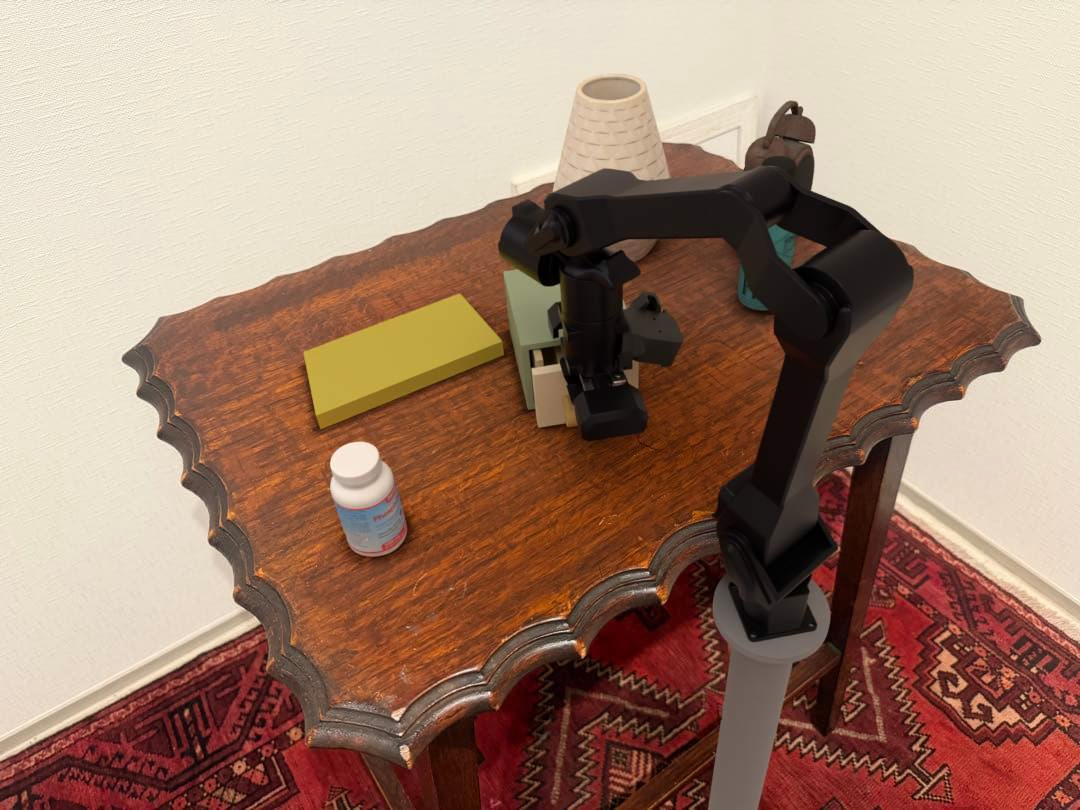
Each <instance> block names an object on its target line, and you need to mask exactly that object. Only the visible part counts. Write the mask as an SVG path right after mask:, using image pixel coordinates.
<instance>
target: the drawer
mask: <svg viewBox="0 0 1080 810" xmlns="http://www.w3.org/2000/svg"><path fill="white" fill-rule="evenodd" d="M529 357H530V367H531V373H532V380H533V390H534V399H535V409H534V410H535V418H536V424H537V427H538V428H545V427H551V426H557V425H563V424H566V428H574V427H578V424H577V421H576V415H575V410H574V405H572V403H571V400H570V397H569V394H568V390H567V387H566V385H568V384H567V382H566V380H565V378H564V376H563V373H562V370H561V366H560V364H555V365H553V353H552V346H551V347H545V348H538V349H532V350H529ZM624 374H625V375H626V378H627V381H628V383H629V384H631V385H632V386H634V387H636V388H637V389H639V362H637V361H634V360H633V369H630V370H624Z"/></svg>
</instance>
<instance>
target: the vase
mask: <svg viewBox="0 0 1080 810" xmlns="http://www.w3.org/2000/svg"><path fill="white" fill-rule="evenodd" d="M654 113H655V112H654V110H653V105H652V101H651V98H650V94H649V90H648V86H647V84H646V82H645V81H644V80H642V79H641V78H640V77H637V76H635V75H632V74H626V73H604V74H598V75H594V76H590V77H587V78H586V79H584V80H582V81H580V82H579V83H578V85H577V86H576V90H575V93H574V97H573V102H572V106H571V110H570V114H569V118H568V123H567V128H566V132H565V136H564V140H563V145H562V149H561V152H560V153H561V154H560V159H559V161H558V162H559V163H558V166H557V169H556V170H557V171H556V174H555V179H554V184H553V187H552V192H554V191H556V190H559V189H561V188H563V187H565V186H567V185H569V184H571V183H573V182H575V181H577V180H579V179H582V178H584V177H586V176H588V175H590V174H592V173H594V172H596V171H598V170H601V169H603V168H609V169H616V170H623V171H629V172H631V173H633V174H634V175H635V176H636V177H637V178H638V179H640V180H646V181H649V180H659V179H669V178H672V176H671V172H670V168H669V165H668V162H667V161H668V160H667V158H666V154H665V150H664V145H663V143H662V138H661V134H660V131H659V127H658V124H657V120H656V116H655V114H654ZM658 240H659V239H629V240H625V241H621V242H618V243H616V244H613V245H611V246H610V247H611V248H613V249H615V250H617V251H619V250H623V251H624V252H625V254H626V256H627V257H628V258H629V259H631V260H632V261H634V262H635V263H636V262H638V261H640V260H642V259H643V258H645V257H646V256H647V255H648V254H649V253H650V252H651V250H652V249H653V247H654V246H655V244H656V242H657V241H658Z"/></svg>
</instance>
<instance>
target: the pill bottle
mask: <svg viewBox="0 0 1080 810" xmlns="http://www.w3.org/2000/svg"><path fill="white" fill-rule="evenodd" d="M329 461H330V463H329V466H330V470H331V475H332V477H331V479H330V484H329V489H330V495H331V498H332V500H333V503H334V506H335V510H336V512H337V515H338V518H339V521H340V524H341V527H342V530H343V532H344V535H345V538H346V542H347V544H348V545H349V547H350V548H351V550H352V551H353V552H354V553H356V554H358V555H359V556H363V557H371V558H372V557H373V558H374V557H381V556H386V555H388V554H390V553H393V552H394V551H396V550H397V549H398V548H399V547H400V546H401V545H402V544H403V543H404V541H405V539H406V537H407V533H408V525H407V520H406V516H405V513H404V509H403V505H402V502H401V498H400V494H399V490H398V487H397V484H396V480H395V475H394V473H393V471H392V469H391V467H390V466H389V465H388V464H387V463H386V462H384V461H383V460H382V458H381V456H380V452H379V450H378V448H377V447H376V446H375V445H374V444H372V443H369V442H366V441H354V442H349V443H346V444H344V445H342V446H340V447H339V448H338V449H336V451H335V452H333V454H332V455H331V458H330V460H329Z"/></svg>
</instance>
